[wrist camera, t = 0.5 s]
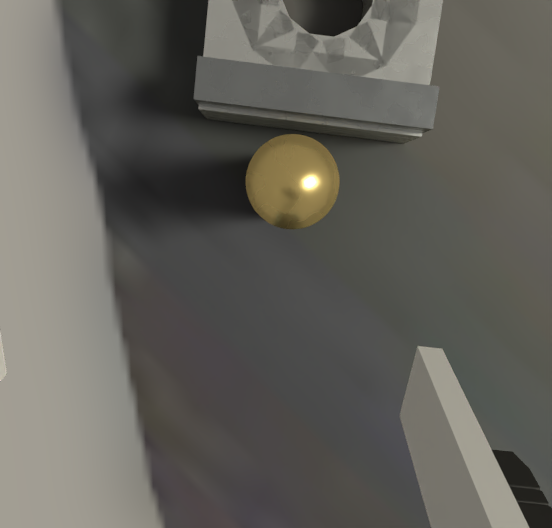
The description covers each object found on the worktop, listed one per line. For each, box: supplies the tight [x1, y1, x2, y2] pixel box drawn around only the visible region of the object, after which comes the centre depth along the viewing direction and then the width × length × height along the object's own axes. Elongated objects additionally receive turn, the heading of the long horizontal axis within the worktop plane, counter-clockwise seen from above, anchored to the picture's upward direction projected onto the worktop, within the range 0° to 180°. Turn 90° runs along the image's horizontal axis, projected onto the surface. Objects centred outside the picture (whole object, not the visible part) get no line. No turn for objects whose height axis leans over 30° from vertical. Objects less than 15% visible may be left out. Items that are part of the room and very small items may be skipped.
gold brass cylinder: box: [246, 134, 339, 229], centre depth 29 cm, size 4×4×12 cm
